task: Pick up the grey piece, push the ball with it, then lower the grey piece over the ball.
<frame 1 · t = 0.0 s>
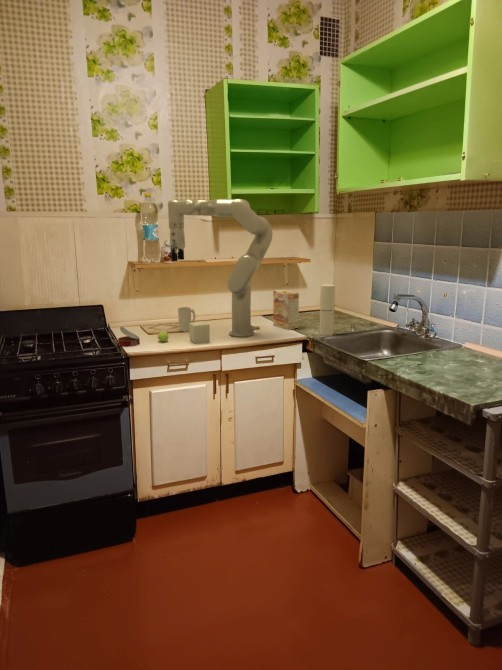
hand: (177, 260, 259), 37 cm above the worktop, tool pointing down, fingers open, 9 cm apart
coffeecake box: (285, 327, 279), on the worktop
canned food: (129, 344, 242), on the worktop
ball: (163, 336, 246), on the worktop
mug: (187, 330, 272), on the worktop
cylindrical container: (326, 334, 261), on the worktop
grey piece: (199, 341, 246), on the worktop
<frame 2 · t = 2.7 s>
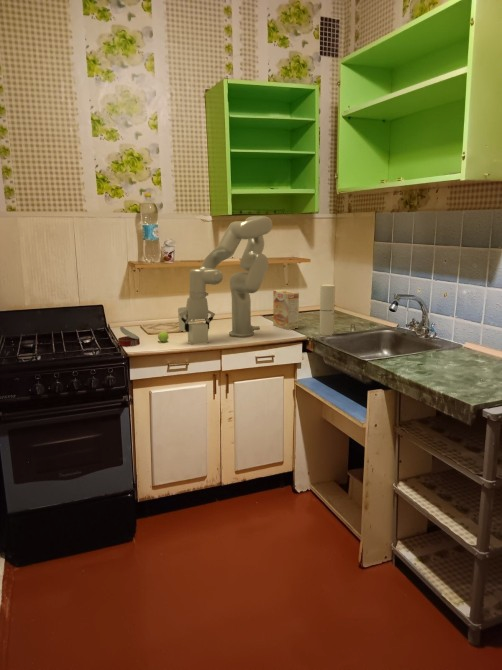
hand: (197, 331, 244), 5 cm above the worktop, tool pointing down, fingers open, 9 cm apart
nothing on the worktop moved.
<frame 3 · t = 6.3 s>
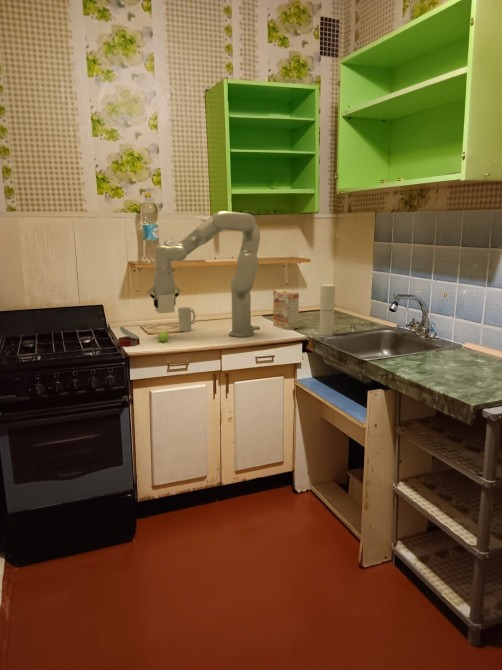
hand: (164, 306, 252), 16 cm above the worktop, tool pointing down, fingers closed on grey piece, 7 cm apart
grey piece: (165, 311, 253), point 13 cm above the worktop, touching gripper
everything else where it was.
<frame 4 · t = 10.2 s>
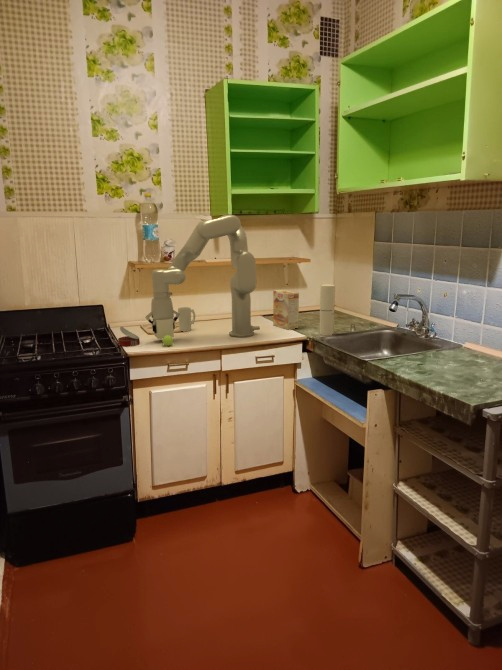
hand: (163, 331, 247), 5 cm above the worktop, tool pointing down, fingers closed on grey piece, 7 cm apart
ball: (167, 340, 238), on the worktop
grey piece: (164, 336, 247), point 2 cm above the worktop, touching gripper
everything else where it was.
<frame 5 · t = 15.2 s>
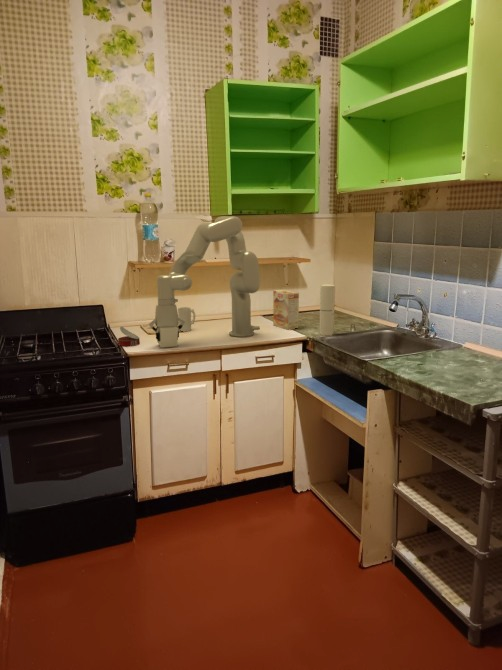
hand: (167, 339, 237), 3 cm above the worktop, tool pointing down, fingers closed on grey piece, 7 cm apart
ball: (167, 340, 238), on the worktop, touching grey piece
grey piece: (167, 343, 238), point 1 cm above the worktop, tilted 11°, touching ball, gripper
everything else where it was.
when the fingers open (3 cm above the worktop, at t = 15.9 s): grey piece stays where it is, on the worktop.
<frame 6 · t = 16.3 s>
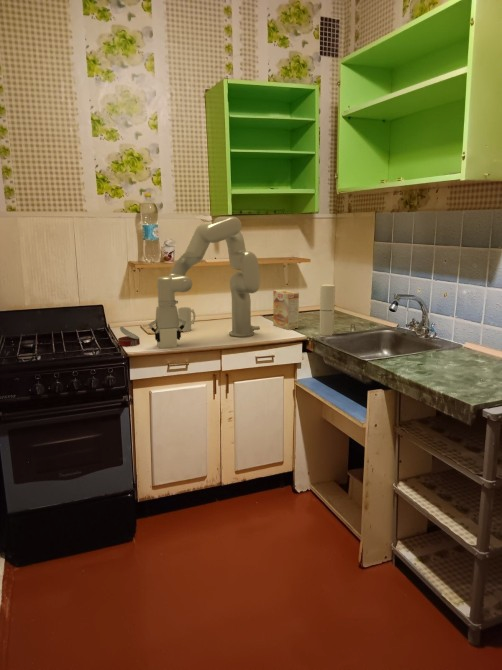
hand: (168, 340, 237), 3 cm above the worktop, tool pointing down, fingers open, 9 cm apart
ball: (167, 340, 238), on the worktop
grey piece: (167, 345, 239), on the worktop
everything else where it was.
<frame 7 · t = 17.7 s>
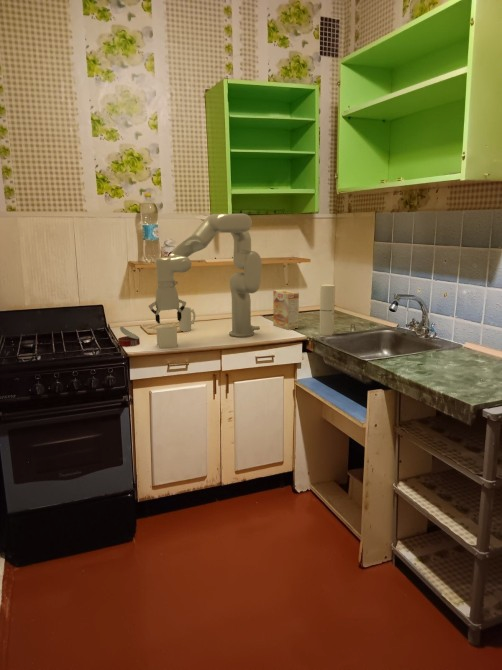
hand: (168, 321, 235), 11 cm above the worktop, tool pointing down, fingers open, 9 cm apart
nothing on the worktop moved.
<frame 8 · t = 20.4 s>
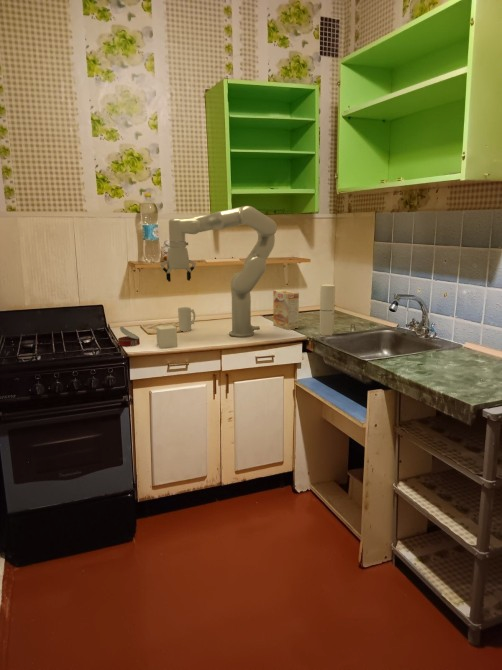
hand: (178, 280, 249), 28 cm above the worktop, tool pointing down, fingers open, 9 cm apart
nothing on the worktop moved.
at the end: ball 0.4 cm from the grey piece (horizontally); grey piece on the worktop; ball moved 8.3 cm from its start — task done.
